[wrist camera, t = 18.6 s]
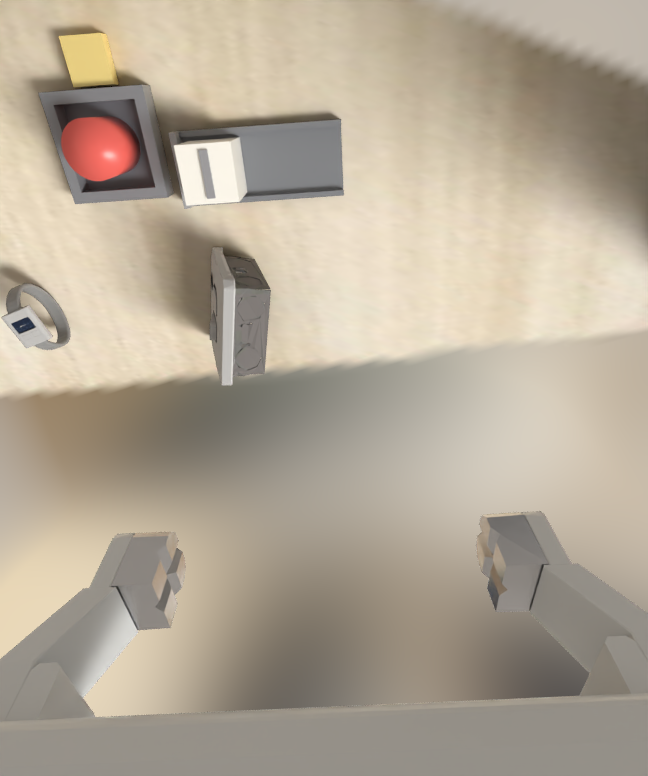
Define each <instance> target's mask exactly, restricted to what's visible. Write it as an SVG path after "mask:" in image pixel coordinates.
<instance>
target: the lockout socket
mask: <svg viewBox="0 0 648 776" xmlns="http://www.w3.org/2000/svg"><path fill="white" fill-rule="evenodd" d="M59 40H60V43H61V46H62V50H63V53H64V57H65V60H66V63H67V67H68V70H69V74H70V77H71V80H72V84H73V87H76V88H82V87H95V86H108V85H119V83H118V79H117V75H116V71H115V67H114V63H113V59H112V55H111V51H110V47H109V43H108V39H107V35H106V34H103V33H92V34H79V35H67V36H59ZM39 97H40V100H41V103H42V106H43V109H44V112H45V115H46V118H47V121H48V124H49V127H50V130H51V133H52V136H53V139H54V142H55V145H56V148H57V151H58V154H59V157H60V160H61V163H62V166H63V169H64V172H65V175H66V178H67V181H68V184H69V187H70V190H71V193H72V196H73V199H74V202H75V204H82V203H97V202H111V201H125V200H139V199H153V198H167V197H169V196H171V195H173V194H174V192H173V188H172V183H171V179H170V174H169V169H168V165H167V160H166V156H165V151H164V147H163V142H162V138H161V133H160V129H159V124H158V120H157V115H156V111H155V106H154V102H153V97H152V93H151V88H150V85H132V86H119V87H106V88H93V89H80V90H67V91H54V92H42V93H39ZM103 116H112V117H116V118H119V119H121V120H123V121H124V122H126V123H127V124H128V125H129V126H130V127H131V128H132V129H133V131H134V132H135V134H136V136H137V138H138V140H139V143H140V150H141V153H140V159H139V162H138V164H137V165H136V166H135V168H134V169H132V170H131V171H129V172H126V173H124V174H121V175H118V176H115V177H112V178H110V179H107V180H104V181H92V180H88V179H86V178H84V177H82V176H80V175H79V174H78V173H77V172H75V171H74V170H73V169H72V168H71V166H70V165H69V164H68V162H67V160H66V159H65V156H64V154H63V151H62V146H61V137H62V132H63V130H64V128H65V127H66V125H67V124H68V123H69V122H71V121H72V120H74V119H77V118H87V117H103Z"/></svg>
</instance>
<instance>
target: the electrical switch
mask: <svg viewBox="0 0 648 776" xmlns="http://www.w3.org/2000/svg"><path fill="white" fill-rule="evenodd" d="M256 289H270V287H269V286H268V284H267V282H266V280H265V278H264V276H263V274H262V272H261V271H260V269H259V267H258V265H257V263H256V261H255V259H245V258H241V257H228V256H224V255H223V247H213V248H212V254H211V321H210V340H212V346H213V351H214V356H215V361H216V366H217V370H218V374H219V378H220V382H221V385H232V377H234V376H246V375H249V374H264V372H265V359H266V346H267V332H268V319H269V306H270V292H271V290H256ZM264 303H265V304H264ZM250 323H252V324H250ZM261 357H262V358H261Z"/></svg>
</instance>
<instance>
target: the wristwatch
mask: <svg viewBox="0 0 648 776" xmlns="http://www.w3.org/2000/svg"><path fill="white" fill-rule="evenodd" d="M21 292H25V293H28V294H30V295H32V296H33V297H35V298H36V299H37V300H38V301H39V302H41V304H42V305H43V306H44V307H45V308H46V309H47V311H48V312H49V314H50V315H51V317H52V319H53V321H54V323H55V326H56V329H57V333H58V339H57V342H56V343H54V342H50V341H48V340H49V339H51V338H52V337H53V335H52V334H51V333H50V332H49V330H48V329H47V328H46V326H45V325H44V324H43V322H42V321H41V320H40V319H39V317H38V316H37V315H36V313H35V312H34V311H33V310H32V308H31V307H30V306H29V305H28V306H26V307H22V308H21V304H20V295H21ZM6 306H7V311H8V314H6V315H4V316H3V317H1V318H2V319H3V320H4V322H5V323H6V324H7V325H8V327H9V328H10V329H11V330H12V331H13V333H14V334H15V335H16V336H17V338H18V339H19V340H20V341H21V342H22V344H23V345H24V346H25V347H26V348H29V347H31V346H36V347H37V348H40V349H44V350H53V349H56V348H59V347H61V346H64V345H66V344H67V343H68V342H69V340H70V328H69V324H68V322H67V319H66V317H65V315H64V313H63V311H62V309H61V308H60V306H59V305H58V303H57V302H56V301H55V300H54V298H53V297H52V296H51V295H49V294H48V293H47V292H46V291H44V290H43V289H41V288H40V287H38V286H36V285H34V284H30V283H24V284H22V285H19V286H17V287H15V288H13V289H11V290H10V291H9V293H8V295H7V300H6Z"/></svg>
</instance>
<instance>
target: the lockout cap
mask: <svg viewBox="0 0 648 776" xmlns="http://www.w3.org/2000/svg"><path fill="white" fill-rule="evenodd" d="M61 146H62V151H63V154H64V156H65V159H66V160H67V162H68V164H69V165H70V166H71V168H72V169H73V170H74V171H75V172H77V173H78V174H79V175H80V176H82V177H84V178H86V179H88V180H92V181H104V180H107V179H110V178H112V177H115V176H118V175H121V174H124V173H126V172H129V171H131V170H132V169H134V168H135V166H136V165H137V164H138V162H139V159H140V153H141V150H140V143H139V140H138V138H137V136H136V134H135V132H134V131H133V129H132V128H131V127H130V126H129V125H128V124H127V123H126V122H124V121H123V120H121V119H119V118H116V117H112V116H103V117H87V118H77V119H74V120H72V121H71V122H69V123H68V124H67V125H66V127H65V128H64V130H63V132H62V137H61Z"/></svg>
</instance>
